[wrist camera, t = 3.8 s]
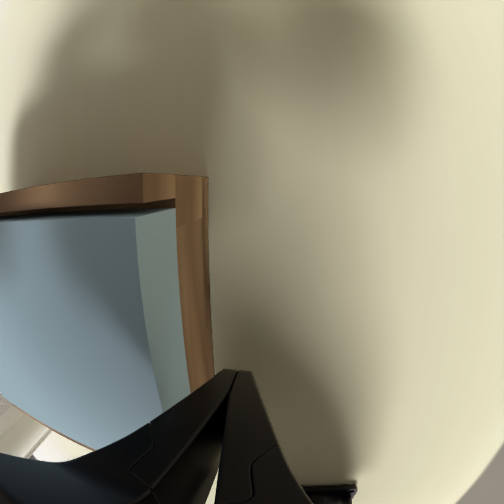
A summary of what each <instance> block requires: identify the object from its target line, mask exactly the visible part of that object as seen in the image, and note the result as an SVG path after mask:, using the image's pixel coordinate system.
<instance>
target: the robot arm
mask: <svg viewBox="0 0 504 504" xmlns="http://www.w3.org/2000/svg"><path fill="white" fill-rule="evenodd" d="M218 468H219V471H218ZM217 471H218V479H217V487H216V495H215V503H214V504H352V498H353V497H354V495H355V494H356V492H357V486H356V485H348V486H334V487H301V485H300V484H299V482H298V481H297V479H296V478H295V476H294V474H293V472H292V471H291V469H290V467H289V465H288V463H287V461H286V459H285V456H284V454H283V452H282V449H281V447H280V445H279V442H278V440H277V437H276V435H275V432H274V430H273V427H272V424H271V422H270V419H269V417H268V414H267V411H266V409H265V406H264V403H263V401H262V398H261V395H260V393H259V390H258V387H257V385H256V382H255V379H254V376H253V374H252V372H251V371H243V370H239V371H237V370H233V369H223V370H222V371H220V372H219V373H218V374H216V375H215V376H214V377H212V378H211V379H210V380H208V381H207V382H206V383H204V384H203V385H202V386H200V387H199V388H198V389H196V390H195V391H193V392H192V393H191V394H189V395H188V396H186V397H185V398H184V399H182V400H181V401H179V402H178V403H176V404H175V405H174V406H172V407H171V408H169V409H168V410H166V411H165V412H163V413H162V414H160V415H159V416H157V417H156V418H154V419H153V420H151V421H150V423H147V424H145V425H144V426H142V427H140V428H139V429H137V430H136V431H134V432H132V433H131V434H129V435H127V436H125V437H123V438H121V439H119V440H117V441H115V442H113V443H111V444H109V445H107V446H105V447H102V448H100V449H98V450H96V451H93V452H91V453H88V454H86V455H84V456H81V457H79V458H76V459H73V460H70V461H66V462H45V461H39V460H33V459H27V458H22V457H17V456H13V455H8V454H4V453H0V504H205V503H206V500H207V498H208V495H209V492H210V490H211V487H212V484H213V482H214V479H215V476H216V474H217Z"/></svg>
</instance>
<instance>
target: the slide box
mask: <svg viewBox="0 0 504 504" xmlns="http://www.w3.org/2000/svg"><path fill="white" fill-rule="evenodd" d="M147 208H176V241H177V262H178V279H179V293H180V305H181V317H182V327H183V337H184V346H185V355H186V363H187V371H188V378H189V385H190V392H191V393H192V392H193V391H195V390H196V389H198V388H199V387H200V386H202V385H203V384H204V383H206V382H207V381H208V380H210V379H211V378H212V377H214V362H213V346H212V329H211V308H210V283H209V246H208V177H201V176H187V175H172V174H154V173H137V174H125V175H115V176H105V177H97V178H88V179H81V180H73V181H66V182H60V183H53V184H47V185H41V186H35V187H30V188H24V189H19V190H14V191H9V192H5V193H0V216H10V215H22V214H35V213H49V212H66V211H85V210H110V209H147ZM12 405H13V406H14V407H16V408H17V409H19V410H20V411H22V412H23V413H25V414H26V415H28V416H29V417H31V418H32V419H34V420H36V421H37V422H39V423H41V424H42V425H44V426H46V427H47V428H49V429H51V430H53V431H54V432H56V433H58V434H60V435H62V436H64V437H66V438H67V439H69V440H71V441H73V442H75V443H77V444H79V445H82V446H84V447H86V448H88V449H90V450H92V451H96V450H95V449H92V448H90V447H88V446H86V445H84V444H81V443H79V442H77V441H75V440H73V439H71V438H69V437H67V436H65V435H63V434H62V433H60V432H58V431H56V430H54V429H52V428H51V427H49V426H47V425H45V424H44V423H42V422H40V421H39V420H37V419H35V418H34V417H32V416H31V415H29V414H27V413H26V412H24V411H23V410H21V409H20V408H18V407H17V406H15V405H14V404H12Z"/></svg>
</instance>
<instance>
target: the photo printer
mask: <svg viewBox="0 0 504 504" xmlns="http://www.w3.org/2000/svg"><path fill="white" fill-rule="evenodd" d="M51 432H52V430H51V429H49V428H47V427H46V426H44V425H42V424H41V423H39V422H37V421H36V420H34V419H32V418H31V417H29V416H28V415H26V414H25V413H23V412H22V411H20V410H19V409H17V408H16V407H14V406H13V405H12V403H11V402H10V401H8V400H7V399H5V398H4V397H3V396H2V394H1V392H0V453H4V454H8V455H13V456H17V457H22V458H27V459H28V458H29V457H30V456H31V455H32V454H33V453H34V451H35V450H36V449H37V448H38V447H39V446H40V445H41V444H42V442H43V441H44V440H45V439H46V438H47V437H48V436H49V434H50V433H51Z"/></svg>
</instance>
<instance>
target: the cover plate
mask: <svg viewBox="0 0 504 504" xmlns="http://www.w3.org/2000/svg"><path fill="white" fill-rule="evenodd" d="M0 392H1V394H2V396H3V397H4V398H5V399H7V400H8V401H10V402H11V403H12V404H14V405H15V406H17V407H18V408H20V409H21V410H23V411H24V412H26V413H27V414H29V415H31V416H32V417H34V418H35V419H37V420H39V421H40V422H42V423H44V424H45V425H47V426H49V427H51V428H52V429H54V430H56V431H58V432H60V433H62V434H63V435H65V436H67V437H69V438H71V439H73V440H75V441H77V442H79V443H81V444H84V445H86V446H88V447H90V448H92V449H95V450H98V449H100V448H102V447H105V446H107V445H109V444H111V443H113V442H115V441H117V440H119V439H121V438H123V437H125V436H127V435H129V434H131V433H132V432H134V431H136V430H137V429H139V428H140V427H142V426H144V425H145V424H147V423H150V421H151V420H153V419H154V418H156V417H157V416H159V415H160V414H162V413H163V412H165V411H166V410H168V409H169V408H171V407H172V406H174V405H175V404H176V403H178V402H179V401H181V400H182V399H184V398H185V397H186V396H188V395H189V394H191V392H190V385H189V378H188V371H187V363H186V355H185V346H184V337H183V327H182V317H181V305H180V293H179V279H178V262H177V241H176V208H147V209H110V210H85V211H66V212H49V213H35V214H22V215H10V216H0Z"/></svg>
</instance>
